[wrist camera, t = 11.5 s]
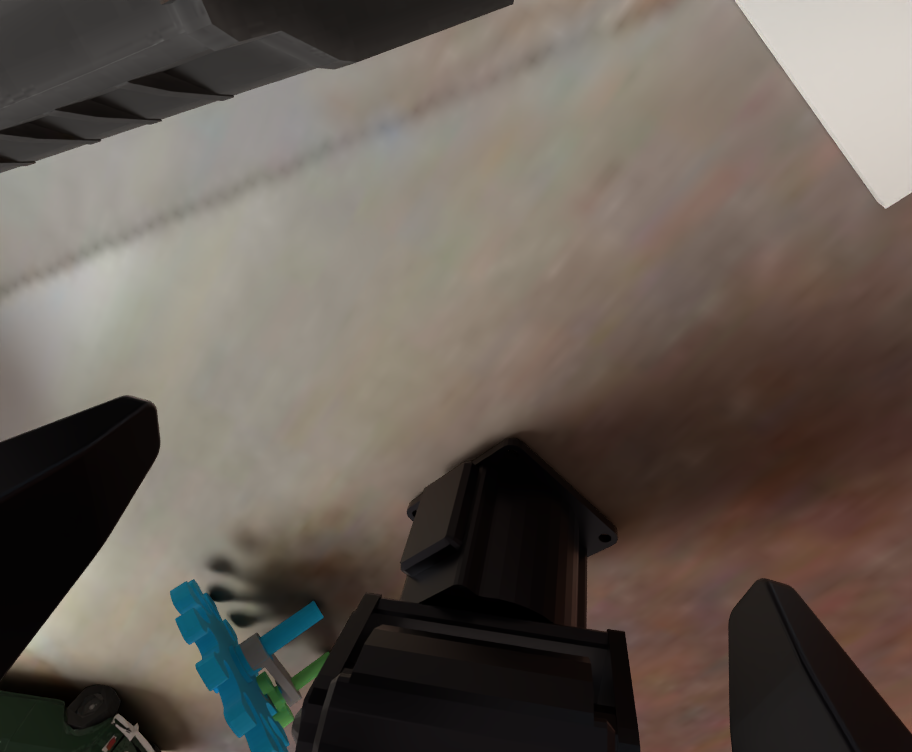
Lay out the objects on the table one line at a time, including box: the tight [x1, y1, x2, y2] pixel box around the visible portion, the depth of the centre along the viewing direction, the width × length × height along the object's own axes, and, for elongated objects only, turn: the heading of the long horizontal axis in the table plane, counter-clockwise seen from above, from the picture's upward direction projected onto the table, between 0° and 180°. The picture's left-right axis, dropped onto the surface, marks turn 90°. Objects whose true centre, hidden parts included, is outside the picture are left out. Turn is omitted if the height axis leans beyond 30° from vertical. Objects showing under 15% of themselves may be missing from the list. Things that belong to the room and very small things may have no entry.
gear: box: [170, 579, 330, 752], centre depth 31 cm, size 11×6×10 cm
